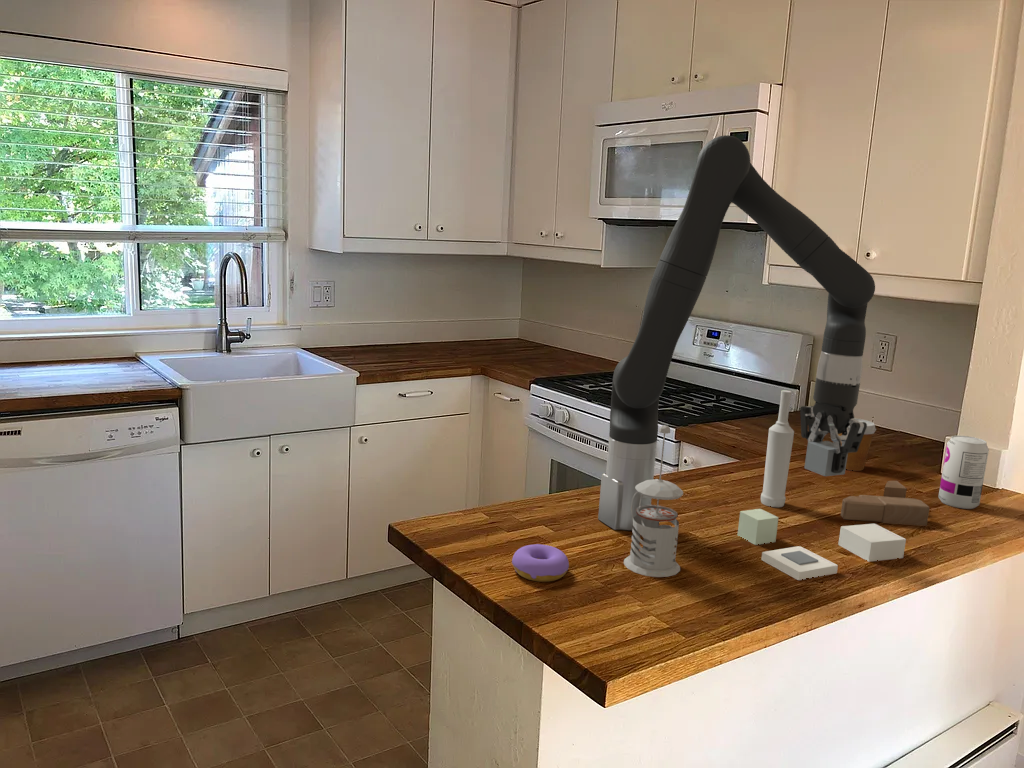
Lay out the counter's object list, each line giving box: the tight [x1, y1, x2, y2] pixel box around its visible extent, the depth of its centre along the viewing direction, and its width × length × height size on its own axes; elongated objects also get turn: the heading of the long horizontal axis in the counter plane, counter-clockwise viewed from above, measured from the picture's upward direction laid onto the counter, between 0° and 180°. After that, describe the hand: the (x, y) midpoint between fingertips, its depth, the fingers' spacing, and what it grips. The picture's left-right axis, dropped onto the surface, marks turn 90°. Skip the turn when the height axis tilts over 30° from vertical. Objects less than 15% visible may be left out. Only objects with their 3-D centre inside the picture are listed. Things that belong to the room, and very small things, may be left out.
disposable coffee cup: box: [838, 417, 877, 472], centre depth 211 cm, size 10×10×12 cm
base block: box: [837, 523, 907, 563], centre depth 156 cm, size 8×8×4 cm
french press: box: [623, 424, 684, 578], centre depth 142 cm, size 10×12×25 cm
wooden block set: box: [840, 480, 930, 527], centre depth 180 cm, size 17×6×18 cm
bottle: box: [760, 389, 795, 508], centre depth 178 cm, size 5×5×25 cm
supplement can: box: [937, 435, 990, 510], centre depth 186 cm, size 8×8×15 cm
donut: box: [511, 543, 570, 583], centre depth 138 cm, size 10×9×5 cm
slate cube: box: [804, 440, 848, 477], centre depth 153 cm, size 5×5×5 cm
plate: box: [761, 545, 839, 581], centre depth 147 cm, size 9×9×2 cm
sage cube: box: [737, 508, 779, 546], centre depth 159 cm, size 5×5×5 cm
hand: (824, 467), depth 153 cm, fingers closed on slate cube, 5 cm apart
